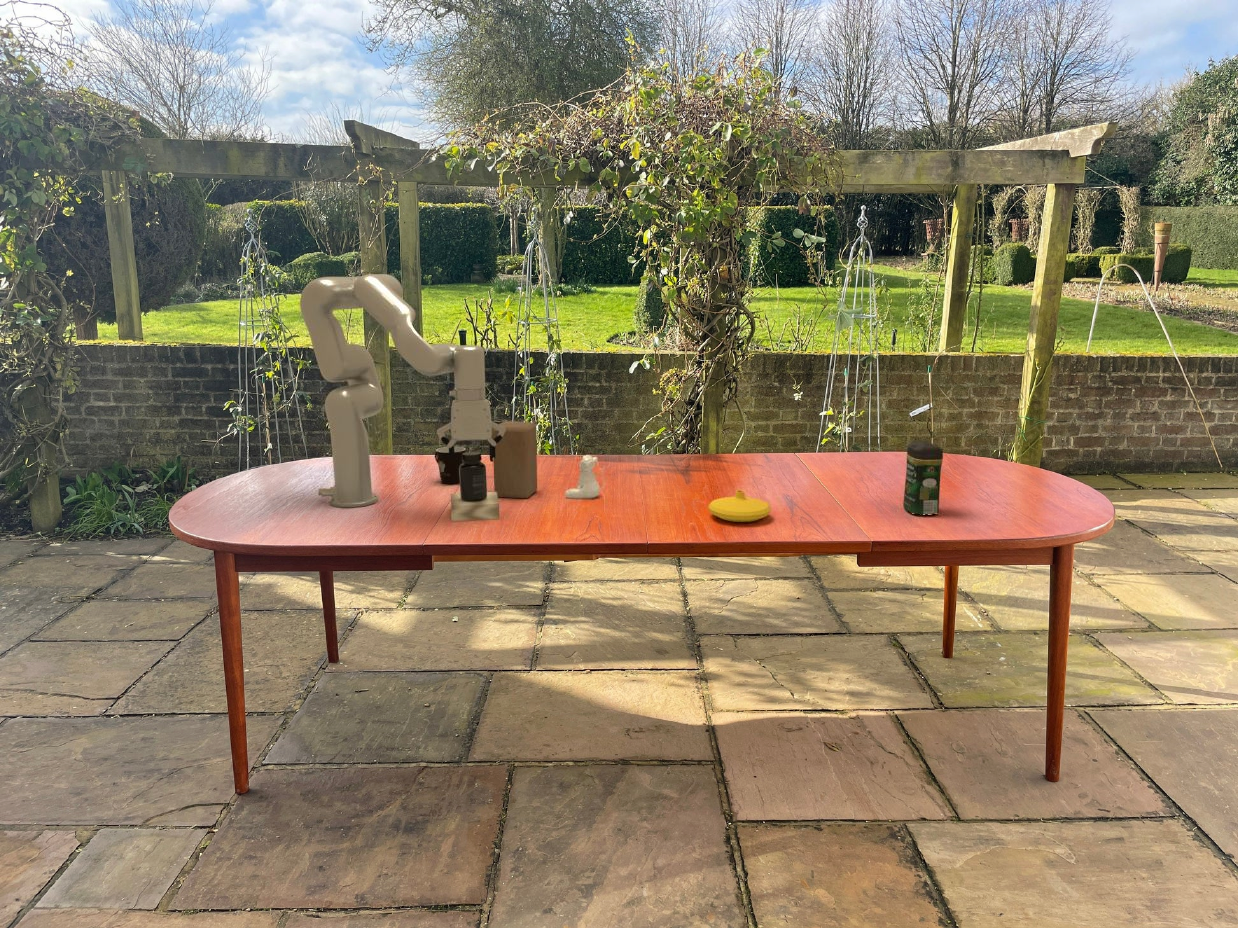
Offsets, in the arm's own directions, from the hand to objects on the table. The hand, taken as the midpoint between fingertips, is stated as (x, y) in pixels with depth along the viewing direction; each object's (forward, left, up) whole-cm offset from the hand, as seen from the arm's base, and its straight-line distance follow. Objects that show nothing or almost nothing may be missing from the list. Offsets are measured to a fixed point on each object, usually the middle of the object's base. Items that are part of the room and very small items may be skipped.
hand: (472, 461), depth 219 cm
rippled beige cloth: (0, 0, -14) cm, 14 cm away
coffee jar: (+114, -21, -14) cm, 117 cm away
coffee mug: (-6, +37, -14) cm, 40 cm away
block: (+12, +18, -14) cm, 26 cm away
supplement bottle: (0, 0, -10) cm, 10 cm away
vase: (+66, -17, -14) cm, 70 cm away
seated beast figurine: (+31, +12, -14) cm, 36 cm away
